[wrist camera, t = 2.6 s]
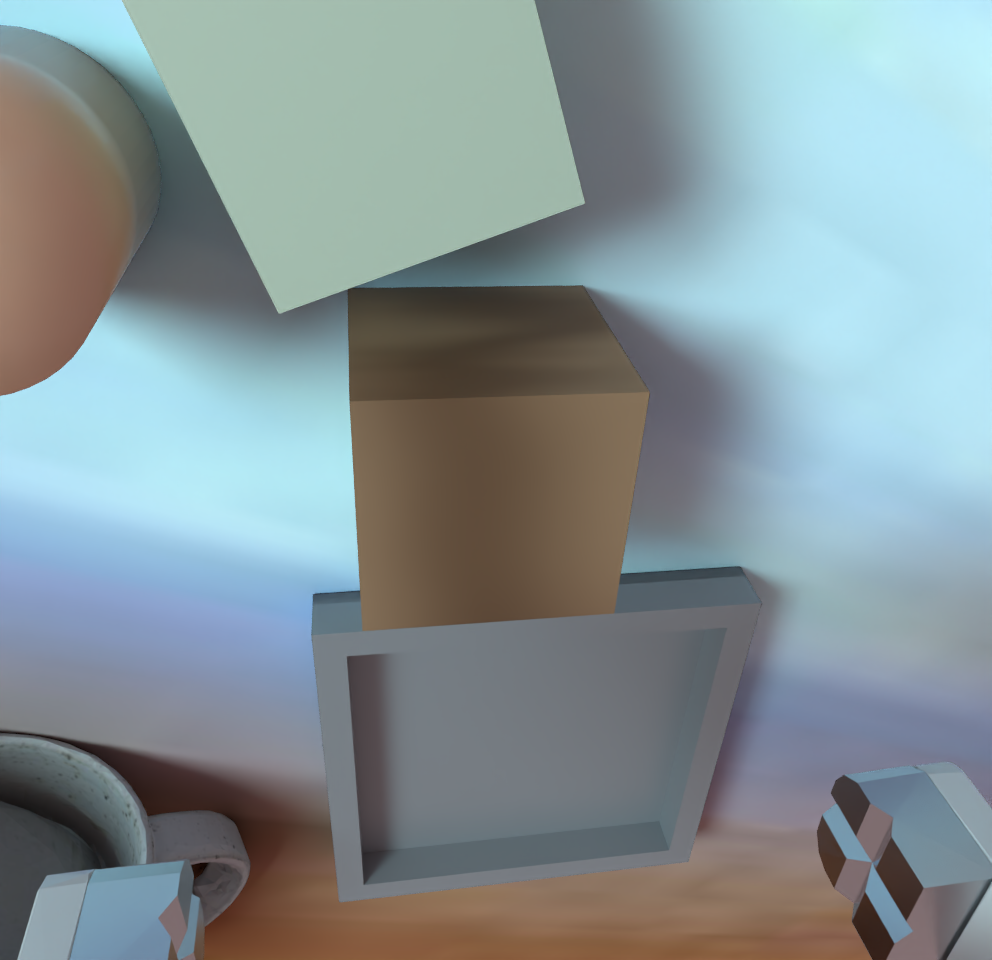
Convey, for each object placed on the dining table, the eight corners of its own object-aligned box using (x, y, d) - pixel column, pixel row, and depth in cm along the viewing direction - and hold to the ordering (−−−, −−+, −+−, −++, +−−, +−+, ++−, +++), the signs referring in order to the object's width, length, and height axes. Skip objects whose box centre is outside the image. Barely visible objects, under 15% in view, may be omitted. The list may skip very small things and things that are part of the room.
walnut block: (581, 284, 19) (649, 391, 14) (562, 476, 21) (614, 613, 17) (347, 286, 18) (349, 401, 14) (358, 486, 21) (362, 631, 17)
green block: (447, -171, 14) (485, -196, 10) (531, 137, 17) (584, 203, 13) (162, -60, 14) (98, -47, 10) (292, 224, 17) (279, 313, 13)
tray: (740, 566, 24) (761, 603, 23) (674, 822, 30) (688, 861, 29) (313, 594, 22) (311, 635, 21) (339, 859, 29) (339, 902, 27)
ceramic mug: (-138, 892, 26) (-284, 1210, 20) (-131, 710, 22) (-310, 1033, 16) (220, 911, 30) (193, 1185, 23) (280, 757, 26) (267, 1037, 19)
